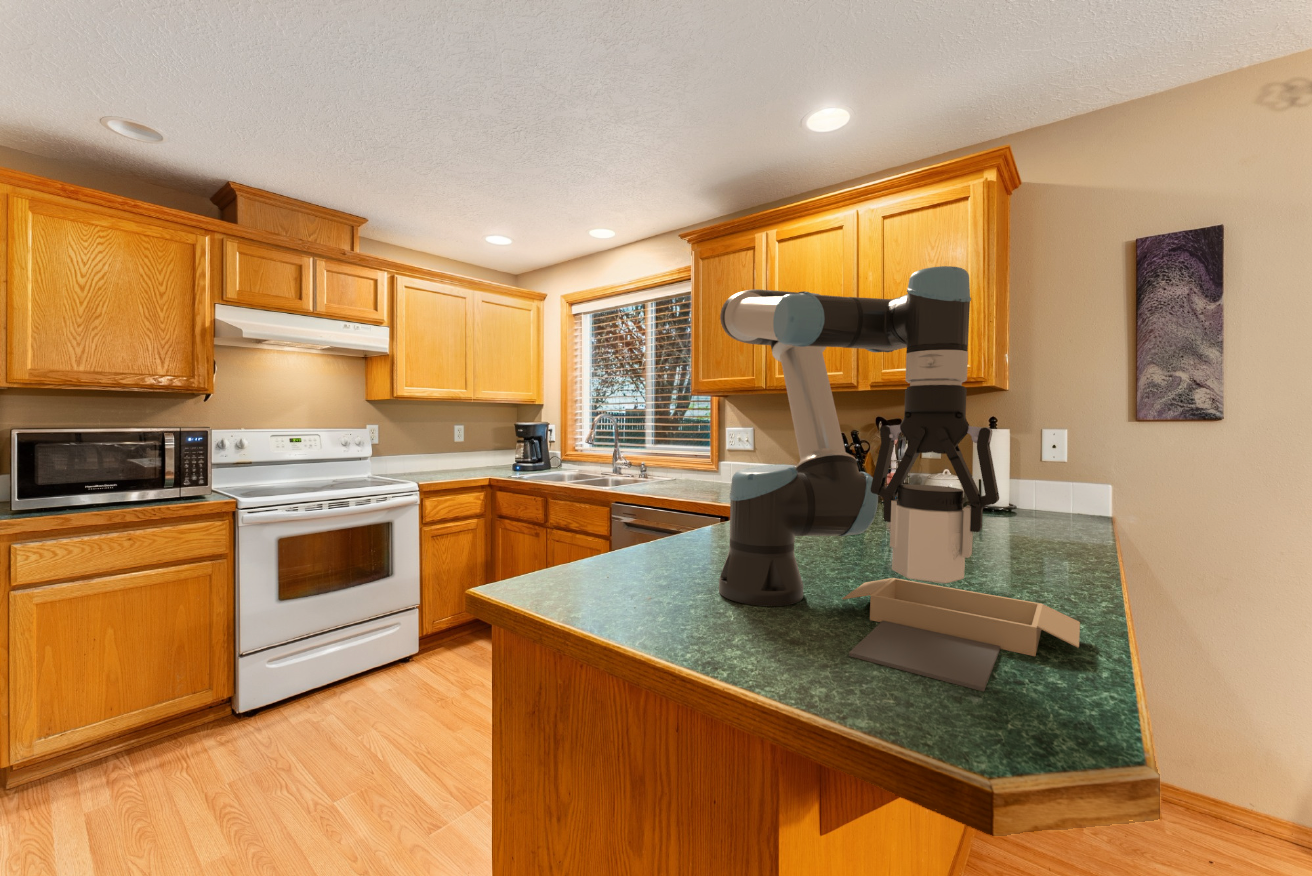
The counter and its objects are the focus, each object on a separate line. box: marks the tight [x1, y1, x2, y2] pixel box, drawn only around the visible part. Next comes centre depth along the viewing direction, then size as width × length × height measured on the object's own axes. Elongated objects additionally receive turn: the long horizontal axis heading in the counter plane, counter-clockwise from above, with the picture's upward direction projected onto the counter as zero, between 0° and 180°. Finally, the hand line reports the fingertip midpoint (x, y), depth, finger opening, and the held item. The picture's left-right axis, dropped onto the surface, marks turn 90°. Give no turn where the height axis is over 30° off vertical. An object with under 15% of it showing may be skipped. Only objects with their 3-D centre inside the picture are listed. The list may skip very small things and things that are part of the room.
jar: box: [891, 484, 966, 584], centre depth 79 cm, size 9×8×12 cm
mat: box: [848, 621, 1001, 692], centre depth 79 cm, size 16×16×1 cm
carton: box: [842, 577, 1081, 657], centre depth 90 cm, size 32×13×4 cm, turn 53°
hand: (929, 550), depth 79 cm, fingers closed on jar, 8 cm apart
